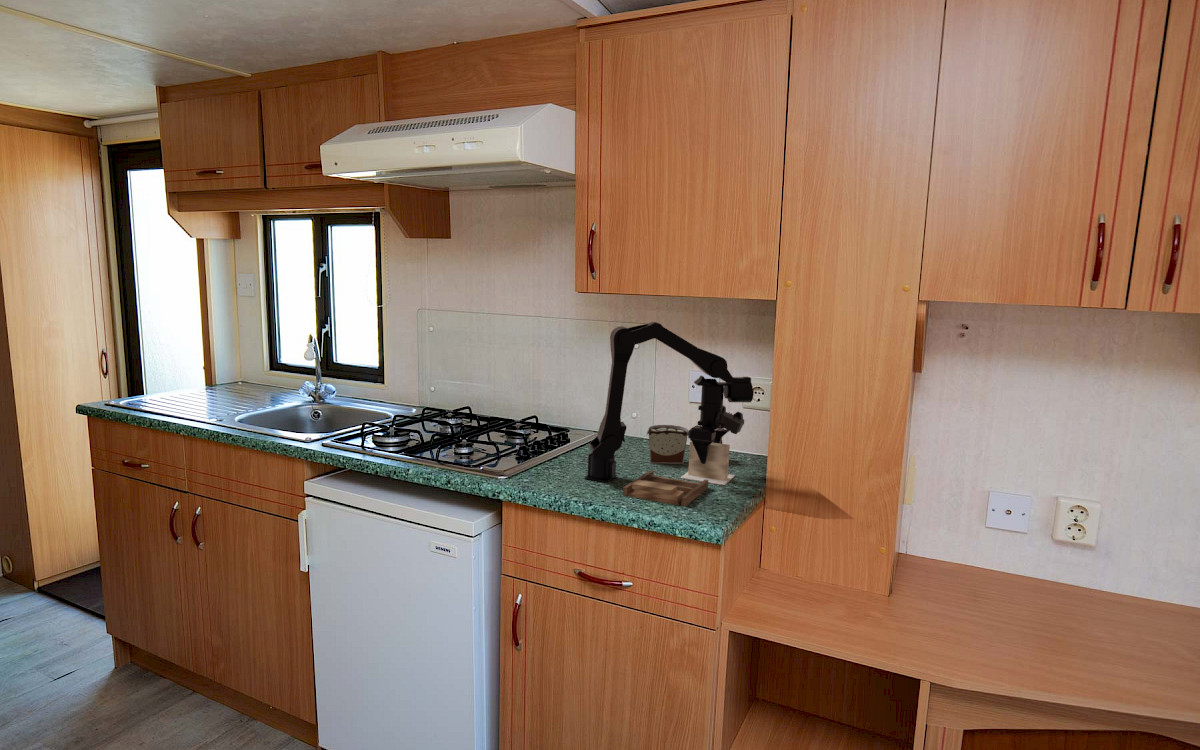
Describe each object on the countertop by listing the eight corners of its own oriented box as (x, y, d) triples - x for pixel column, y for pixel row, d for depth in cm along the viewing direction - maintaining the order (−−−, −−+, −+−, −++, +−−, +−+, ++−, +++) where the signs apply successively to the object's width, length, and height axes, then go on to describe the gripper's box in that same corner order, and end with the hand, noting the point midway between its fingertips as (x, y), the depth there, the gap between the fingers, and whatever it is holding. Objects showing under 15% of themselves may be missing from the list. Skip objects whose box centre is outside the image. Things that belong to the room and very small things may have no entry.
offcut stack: (627, 498, 172) (627, 483, 171) (635, 492, 176) (635, 478, 176) (678, 507, 166) (678, 492, 166) (685, 501, 171) (685, 486, 170)
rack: (622, 495, 172) (623, 487, 172) (649, 478, 187) (650, 470, 187) (685, 506, 165) (685, 498, 165) (708, 487, 180) (708, 480, 180)
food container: (685, 458, 209) (686, 424, 207) (688, 463, 203) (690, 429, 201) (643, 457, 208) (644, 423, 207) (645, 462, 202) (646, 428, 201)
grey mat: (680, 478, 188) (680, 477, 188) (692, 469, 197) (692, 468, 197) (724, 485, 183) (724, 484, 183) (734, 476, 191) (735, 475, 191)
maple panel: (688, 474, 190) (689, 442, 189) (691, 472, 193) (693, 439, 192) (724, 480, 186) (726, 447, 185) (727, 477, 189) (729, 444, 187)
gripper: (731, 411, 175) (728, 472, 177) (751, 400, 191) (747, 456, 194) (689, 406, 180) (686, 466, 182) (711, 395, 196) (708, 450, 199)
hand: (708, 459), depth 189 cm, fingers open, 9 cm apart
